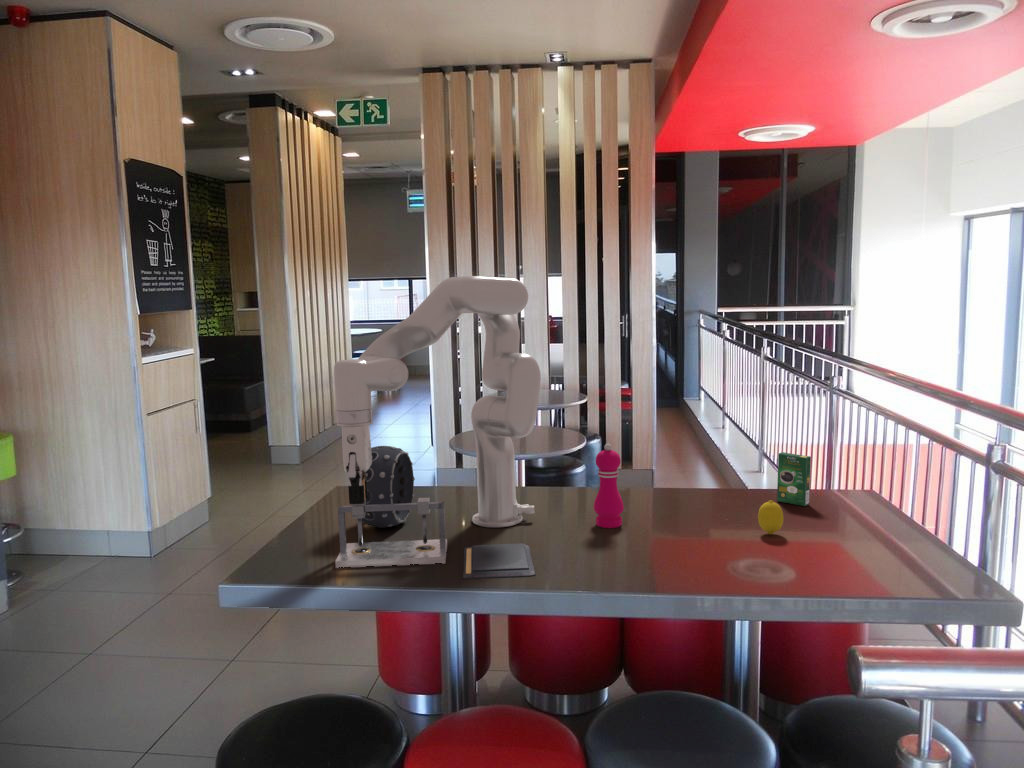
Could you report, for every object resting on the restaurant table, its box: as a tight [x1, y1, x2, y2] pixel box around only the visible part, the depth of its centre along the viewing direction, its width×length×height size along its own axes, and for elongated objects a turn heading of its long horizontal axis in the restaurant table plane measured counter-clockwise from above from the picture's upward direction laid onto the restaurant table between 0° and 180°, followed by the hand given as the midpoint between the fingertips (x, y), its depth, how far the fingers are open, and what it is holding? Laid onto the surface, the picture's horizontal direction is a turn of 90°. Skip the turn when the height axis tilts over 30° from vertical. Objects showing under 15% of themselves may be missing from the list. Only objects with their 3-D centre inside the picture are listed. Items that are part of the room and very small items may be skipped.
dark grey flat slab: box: [462, 542, 536, 580], centre depth 162 cm, size 20×2×15 cm
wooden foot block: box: [351, 477, 366, 547], centre depth 166 cm, size 3×4×15 cm
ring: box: [350, 445, 416, 529], centre depth 190 cm, size 11×20×20 cm, turn 170°
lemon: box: [757, 499, 785, 535], centre depth 175 cm, size 6×6×8 cm
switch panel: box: [334, 497, 448, 569], centre depth 166 cm, size 23×12×12 cm, turn 93°
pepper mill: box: [593, 443, 625, 529], centre depth 185 cm, size 7×7×20 cm
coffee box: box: [776, 451, 812, 507], centre depth 200 cm, size 8×3×13 cm, turn 44°
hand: (358, 500), depth 165 cm, fingers closed on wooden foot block, 3 cm apart
